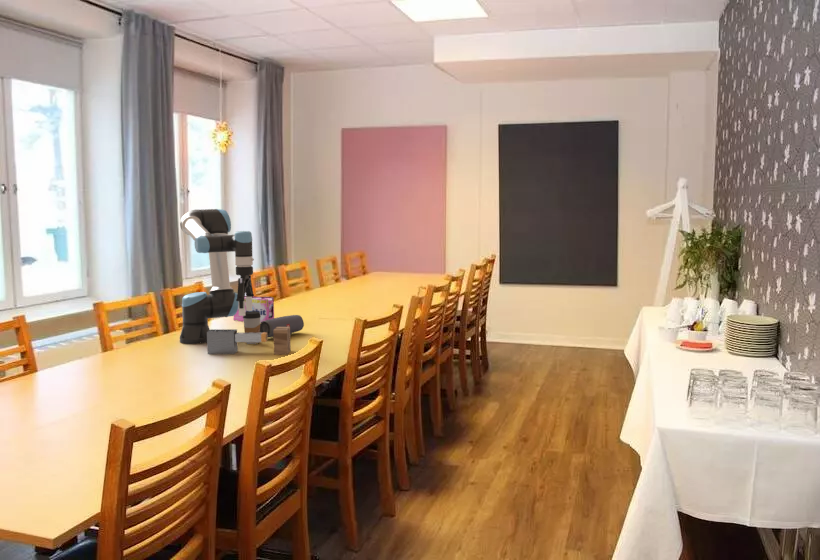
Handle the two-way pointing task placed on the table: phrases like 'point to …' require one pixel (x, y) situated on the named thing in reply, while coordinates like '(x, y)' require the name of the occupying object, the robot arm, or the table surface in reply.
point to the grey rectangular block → (221, 342)
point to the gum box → (259, 308)
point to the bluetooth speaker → (282, 324)
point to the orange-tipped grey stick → (250, 337)
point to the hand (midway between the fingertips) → (245, 313)
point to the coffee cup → (252, 323)
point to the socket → (282, 340)
